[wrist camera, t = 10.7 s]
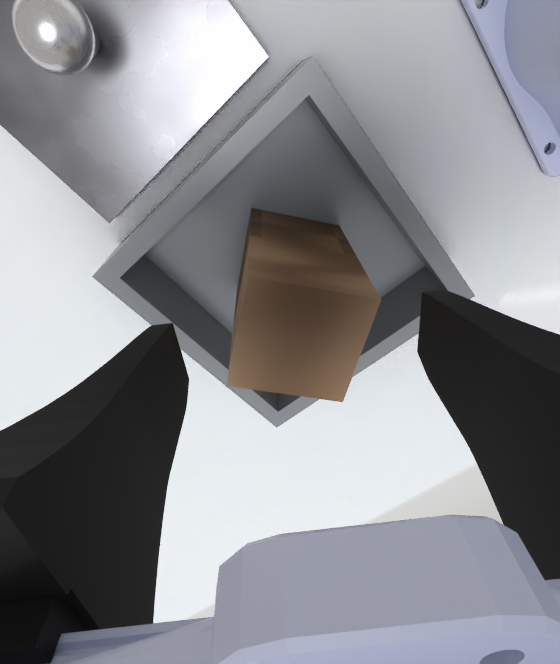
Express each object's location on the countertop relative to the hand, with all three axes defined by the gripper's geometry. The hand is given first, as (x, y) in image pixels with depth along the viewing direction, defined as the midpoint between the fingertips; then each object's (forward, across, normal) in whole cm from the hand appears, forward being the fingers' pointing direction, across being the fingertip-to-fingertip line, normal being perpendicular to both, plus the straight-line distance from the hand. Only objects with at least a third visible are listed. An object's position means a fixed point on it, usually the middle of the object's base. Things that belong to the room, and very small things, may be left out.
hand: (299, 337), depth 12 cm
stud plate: (+10, +7, -9) cm, 15 cm away
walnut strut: (+10, 0, +1) cm, 10 cm away
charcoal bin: (+10, 0, +1) cm, 10 cm away
